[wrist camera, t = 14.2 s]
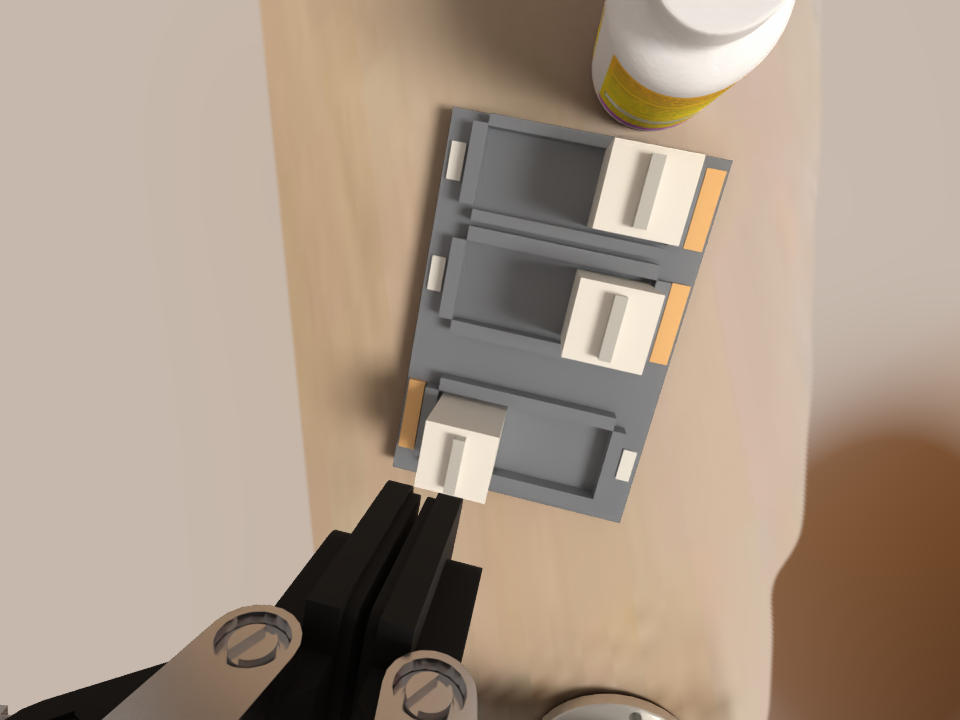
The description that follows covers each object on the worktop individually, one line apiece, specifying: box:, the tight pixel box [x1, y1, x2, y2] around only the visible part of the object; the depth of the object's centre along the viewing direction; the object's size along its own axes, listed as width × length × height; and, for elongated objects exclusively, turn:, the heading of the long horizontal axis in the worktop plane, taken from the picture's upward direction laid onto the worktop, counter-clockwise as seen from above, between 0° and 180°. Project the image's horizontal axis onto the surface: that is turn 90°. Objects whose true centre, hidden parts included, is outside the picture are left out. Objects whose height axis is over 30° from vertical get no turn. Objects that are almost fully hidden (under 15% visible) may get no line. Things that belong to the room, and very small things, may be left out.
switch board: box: [393, 107, 732, 523], centre depth 29 cm, size 22×15×7 cm
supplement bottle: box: [592, 0, 795, 131], centre depth 22 cm, size 7×7×13 cm
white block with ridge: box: [560, 268, 665, 375], centre depth 28 cm, size 4×4×6 cm
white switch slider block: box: [414, 391, 508, 504], centre depth 31 cm, size 4×4×6 cm
